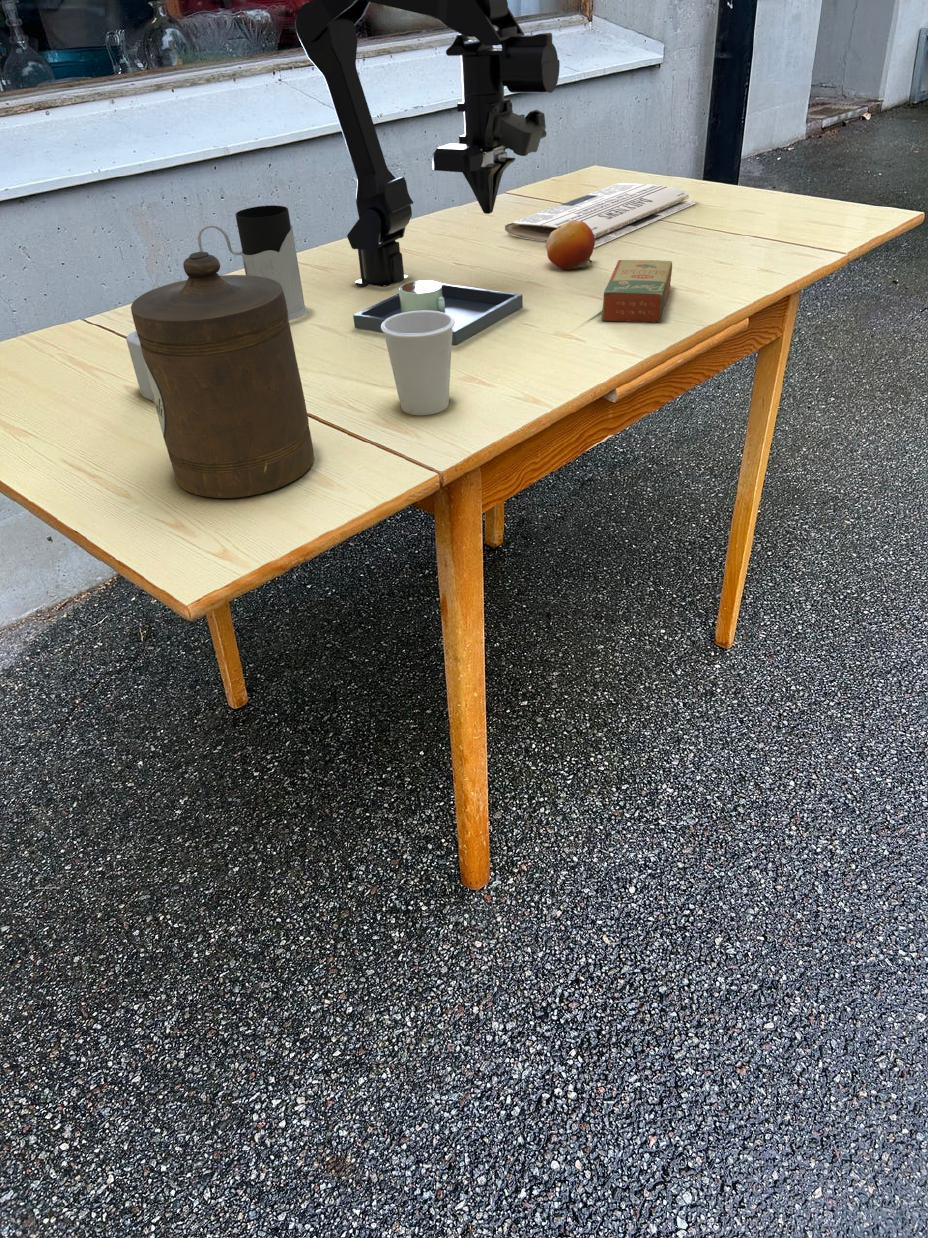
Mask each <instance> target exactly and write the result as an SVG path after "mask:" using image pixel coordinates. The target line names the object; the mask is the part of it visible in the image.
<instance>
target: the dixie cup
mask: <svg viewBox="0 0 928 1238" xmlns="http://www.w3.org/2000/svg"><path fill="white" fill-rule="evenodd" d="M454 324H455V320H454V318H453V317H452V316H450V315H449V314H446V313H443V312H439V311H430V310H420V311H410V312H404V313H400V314H396V315H393V316H391V317H389V318H387V319H386V320H385V321H384V322H383V323H382V324H381V330H382V331H383V332H384V333H383V336H384V340H385V343H386V348H387V352H388V357H389V361H390V366H391V369H392V374H393V378H394V379H393V380H394V383H395V387H396V392H397V397H398V401H399V405H400V408H401V410H402V412H404V413H406V414H408V415H412V416H429V415H430V416H431V415H435V414H438V413H441V412H443V411H445V410H446V409H447V408H448V407H449V405H450V404H449V403H450V387H451V385H450V383H451V368H452V367H451V366H452V347H453V345H452V332H453V326H454Z"/></svg>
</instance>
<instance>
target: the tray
mask: <svg viewBox="0 0 928 1238" xmlns="http://www.w3.org/2000/svg"><path fill="white" fill-rule="evenodd" d="M439 283H440V284H441V285H442V294H443V298H444V301H445V313H446V314H449V315H450V316H452V317H453V318H454V320H455V324H454V326H453V332H452V346H458V345H460V344H462V343H464V342H465V341H467V340H468V339H470V338H472V337H473V336H475V335H477V334H479V333H481V332H482V331H484V330H486V329H488V328H489V327H491V326H494V325H495V324H497V323H498V322H501V321H502V320H503V319H506V318H507V317H509V316H511V315H512V314H514V313H516V312H518V311H519V310H521V309H523V308H524V302H523V301H524V299H523V298H524V297H523V294H522V293H515V292H506V291H500V290H493V289H487V288H478V287H471V286H464V285H457V284H450V283H442V282H439ZM400 313H401V306H400V296H399V292H398V293H396V294H395V295H394V294H393V295H392V296H389V297H388V298H386V299H384V300H381V301H379V302H377V303H375V304H373V305H371V306H369V307H367V308H364V309H363V310H361V311H358V312H356V313H354V314H353V315H352V317H353V325H354V326H353V327H354V329H359V330H365V331H370V332H376V333H381V334H384V332H383V331H382V330H381V324H382V323H383V322H384V321H385V320H386V319H387V318H389V317H391V316H393V315H396V314H400Z"/></svg>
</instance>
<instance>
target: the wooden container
mask: <svg viewBox="0 0 928 1238" xmlns="http://www.w3.org/2000/svg"><path fill="white" fill-rule="evenodd" d="M182 267H183V270H184V273H185V275H186V276H187V279H185V280H180V281H175V282H172V283H168V284H165V285H161V286H158V287H156V288H153V289H150V290H148V291H146V292H144V293H143V294H141V295H139V296H137V298H135V300H133V302H132V303H131V306H130V311H131V316H132V321H133V324H134V328H135V331H137V335H138V338H139V341H140V345H141V350H142V354H143V358H144V362H145V366H146V370H147V374H148V378H149V382H150V386H151V390H152V394H153V399H154V401H153V402H154V407H155V410H156V414H157V419H158V422H159V425H160V430H161V433H162V437H163V440H164V445H165V447H166V450H167V453H168V457H169V461H170V464H171V468H172V471H173V474H174V478H175V480H176V482H177V484H178V485H179V487H181V489H183V490H185V492H188V493H190V494H194V495H197V496H201V497H206V498H215V499H233V498H243V497H244V498H245V497H249V496H256V495H260V494H263V493H268V492H271V491H274V490H277V489H279V488H282V487H284V486H286V485H288V484H290V483H292V482H294V481H296V480H297V479H299V478H300V477H302V476H303V475H304V474H305V473H306V472H307V471H309V470H310V468H311V467H312V465H313V463H314V460H315V451H314V446H313V439H312V434H311V433H312V432H311V430H310V425H309V424H310V423H309V415H308V411H307V405H306V399H305V394H304V388H303V384H302V380H301V375H300V369H299V366H298V360H297V356H296V355H297V354H296V350H295V345H294V340H293V334H292V329H291V324H290V321H289V318H288V310H287V304H286V299H285V295H284V291H283V288H282V286H281V284H280V283H278V282H277V281H275V280H272V279H269V278H265V277H259V276H251V275H246V274H228V275H227V274H224V275H220V274H219V273H218V272H219V271H220V269H221V263H220V260H219V259H218V258H217V256H215V255H213V254H210V253H209V252H207V251H203V252H200V251H196V252H193V253H192V252H191V254H189V255H188V257H187V258H185V259H184V261H183V265H182Z"/></svg>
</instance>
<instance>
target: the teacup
mask: <svg viewBox="0 0 928 1238" xmlns="http://www.w3.org/2000/svg"><path fill="white" fill-rule="evenodd" d="M440 283H441V282H438V281H435V280H415V281H414V280H413V281H409V282H406V283H403V284H401V285H400V286H399V288H398V293H399V296H400V306H401V313H404V312H410V311H420V310H430V311H439V312H443V313H445V301H444V298H443V294H442V285H441V284H440Z"/></svg>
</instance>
